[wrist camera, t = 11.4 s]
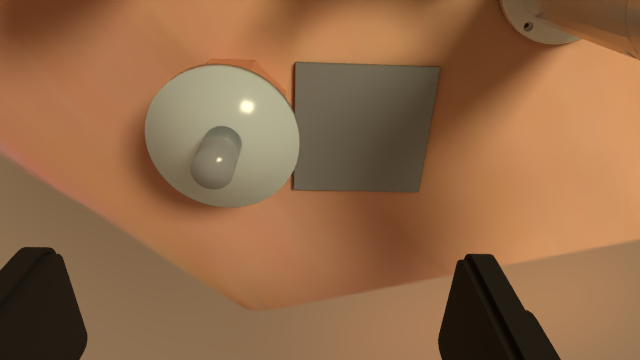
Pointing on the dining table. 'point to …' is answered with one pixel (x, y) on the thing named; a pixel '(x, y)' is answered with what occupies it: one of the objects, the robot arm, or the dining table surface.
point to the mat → (362, 125)
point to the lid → (222, 135)
